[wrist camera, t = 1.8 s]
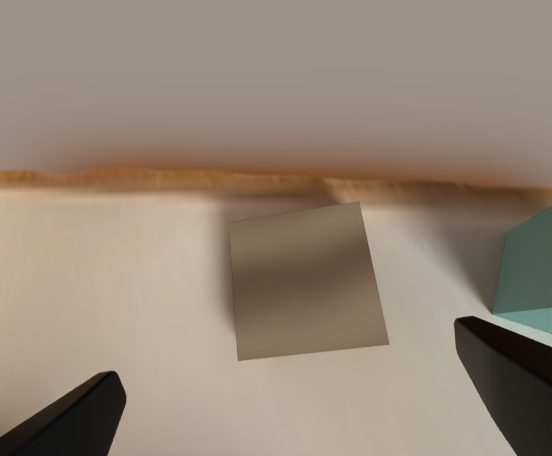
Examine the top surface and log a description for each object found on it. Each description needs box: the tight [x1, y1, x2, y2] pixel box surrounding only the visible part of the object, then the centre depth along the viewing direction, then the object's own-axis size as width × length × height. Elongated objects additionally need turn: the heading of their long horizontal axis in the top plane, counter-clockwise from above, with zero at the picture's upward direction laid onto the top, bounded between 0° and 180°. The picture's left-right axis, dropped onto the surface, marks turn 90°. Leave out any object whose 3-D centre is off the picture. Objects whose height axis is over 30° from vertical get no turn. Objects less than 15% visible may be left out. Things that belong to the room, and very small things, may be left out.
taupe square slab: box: [229, 201, 389, 361], centre depth 22 cm, size 9×9×4 cm
